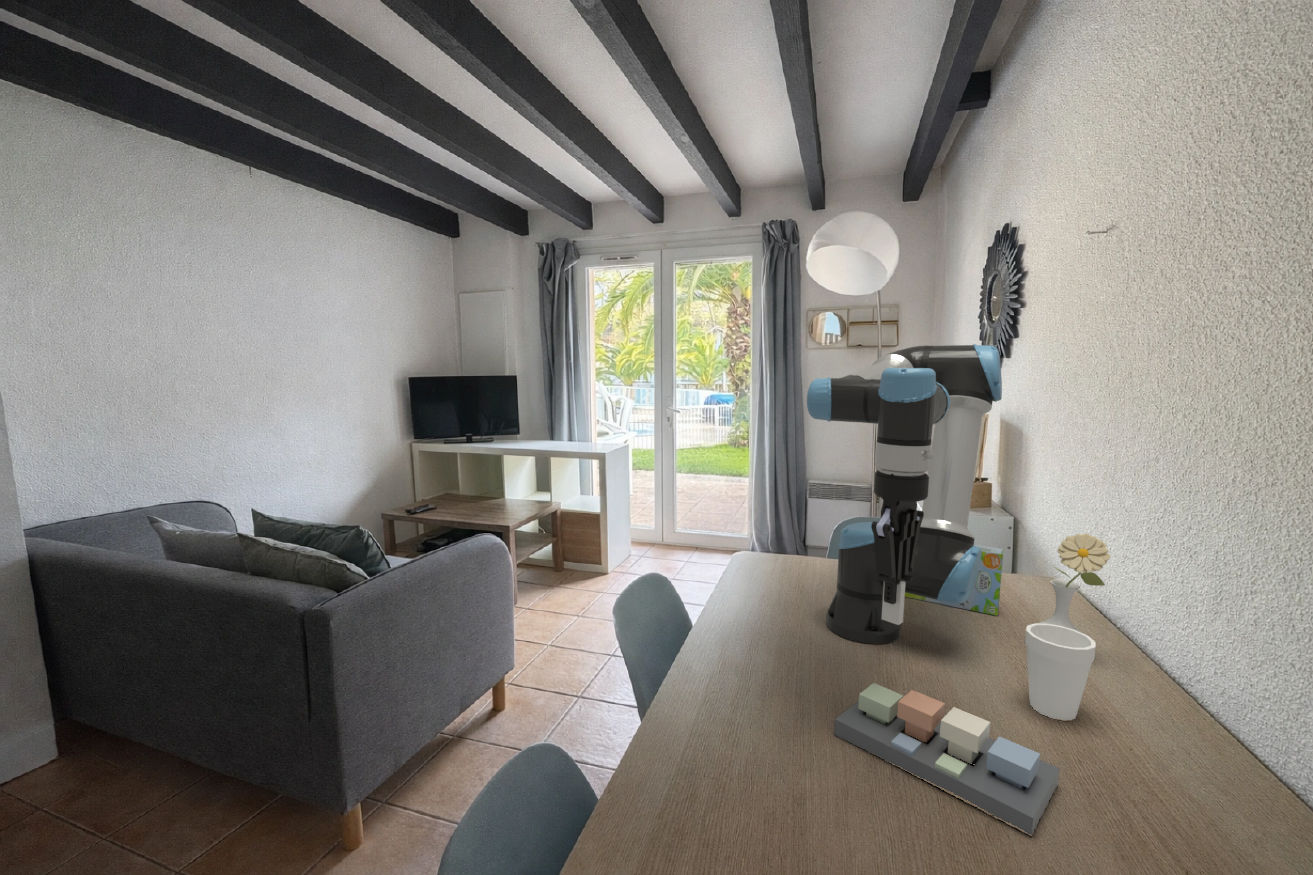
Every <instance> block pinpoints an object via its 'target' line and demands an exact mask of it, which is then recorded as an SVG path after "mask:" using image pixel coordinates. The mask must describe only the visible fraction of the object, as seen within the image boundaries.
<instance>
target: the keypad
mask: <svg viewBox="0 0 1313 875" xmlns="http://www.w3.org/2000/svg"><path fill="white" fill-rule="evenodd" d="M858 706H859V700H858V701H857V702H855V703H854V704H853V705H852V706H850V707H849V708H847V710H845V711H844V712H843V713H841V714H840V715H839V716H837V717H836V718H835V719H834V731H833V732H834V733H833V735H835V736H836V737H837V738H840V739H842V740H844V741H845V742H847V741H848V742H847V743H849V742H850V744H851V743H852V744H851V745H853V746H855V745H856V747H857V746H858V748H859V747H860V748H859V749H861V748H862V749H861V750H863V749H865V750H866V751H865V750H864V751H865V752H867V751H868V752H867V753H869V754H870V753H873V754H875V755H876V756H878V757H880V758H882V759H884V760H886V761H888V762H891V763H893V764H895V765H897V766H900V767H902V768H903V769H905V770H907V771H909V772H911V773H913V774H914V775H917V776H919V777H920V778H923V779H926V780H927V781H930V782H931V783H934V784H936V785H937V786H940V787H942V788H944V789H946V790H948V791H950V792H953V793H954V794H955V795H958V796H960V797H962V798H964V799H965V800H968V801H970V802H971V803H973V804H975V805H977V806H978V807H980V808H982V809H984V810H986V811H987V812H988V813H991V814H993V815H994V816H996V817H998V818H1001V819H1002V820H1004V821H1006V822H1008V823H1011V824H1012V825H1014V826H1017V827H1018V828H1020V829H1022V830H1024V831H1025V832H1027V833H1028V834H1031V835H1032V834H1033V835H1034V833H1035V831H1034V829H1035V828H1036V829H1037V827H1038V826H1037V824H1038V822H1039V819H1040V818H1041V816H1042V814H1043V812H1044V810H1045V808H1046V806H1047V804H1048V802H1049V800H1050V798H1051V796H1052V794H1053V792H1054V790H1055V789H1056V790H1057V788H1058V786H1059V780H1060V770H1061V767H1058V766H1056V765H1054V764H1052V763H1049V762H1047V761H1045V760H1042V759H1040V760H1039V770H1038V772H1037V774H1036V776H1035V777H1034V779H1033V781H1032V782H1031V784H1030V786H1029V788H1026V790H1025V791H1024V790H1022V789H1020V788H1018V787H1016V786H1014V785H1012V784H1009V783H1007V782H1005V781H1003V780H1001V779H999V778H997V777H995V774H996V773H995V772H993V771H991V770H988V769H986V765H987V754H988V751H989V749H990V748H991V747H992V745H993V744H994V743H995V741H996V740H997V739H996V740H995V739H993V738H991V737H989V739H988V740H987V742H986V743H985V744H984V745H983V747H982V748H981V749H980V751H979V752H978V756H977V757H976V758H975V759H974V761H973V762H972V764H975V765H974V766H972V765H970V764H968V763H966V762H964V761H962V760H960V759H958V758H956V757H953V756H951V755H950V754H948V742H949V740H947V739H944V738H942V737H940V727H941V722H940V723H939V724H938V725H937V726H936V727H935V728H934V735H933V736H932V737H931V738H930V739H929V740H928V741H927V742H926V743H928V744H926V743H924V742H922V741H920V740H917V739H915V738H913V737H911V736H910V735H908V734H906V733H905V723H906V721H905V720H903V719H901V718H898V717H897V716H895V717H894V719H893V720H892V721H891V722H890V723H889V724H888V725H885V724H883V723H881V722H878V721H876V720H874V719H872V718H870V717H868V716H866V712H865V711H863V710H860V709H858ZM876 756H875V757H876ZM878 757H877V758H878ZM880 758H879V759H880ZM882 759H881V760H882ZM884 760H883V761H884ZM886 761H885V762H886ZM888 762H887V763H888ZM1057 785H1058V786H1057ZM1056 787H1057V788H1056ZM1056 790H1055V791H1056ZM1054 793H1055V792H1054ZM1053 795H1054V794H1053ZM1052 797H1053V796H1052ZM1051 799H1052V798H1051ZM1050 801H1051V800H1050ZM1049 803H1050V802H1049ZM1048 805H1049V804H1048ZM1047 807H1048V806H1047ZM1046 809H1047V808H1046ZM1045 811H1046V810H1045ZM1044 813H1045V812H1044ZM1043 815H1044V814H1043ZM1042 817H1043V816H1042ZM1041 819H1042V818H1041ZM1039 823H1040V822H1039ZM1038 825H1039V824H1038ZM1036 826H1037V827H1036ZM1036 829H1035V830H1036ZM1033 832H1034V833H1033ZM1033 835H1032V836H1033Z"/></svg>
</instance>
